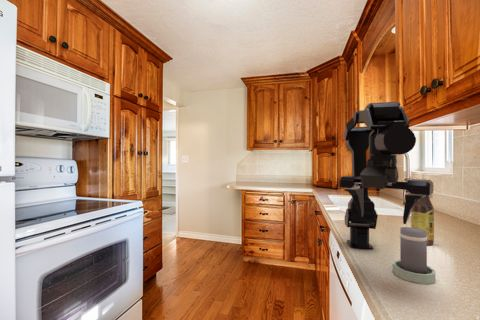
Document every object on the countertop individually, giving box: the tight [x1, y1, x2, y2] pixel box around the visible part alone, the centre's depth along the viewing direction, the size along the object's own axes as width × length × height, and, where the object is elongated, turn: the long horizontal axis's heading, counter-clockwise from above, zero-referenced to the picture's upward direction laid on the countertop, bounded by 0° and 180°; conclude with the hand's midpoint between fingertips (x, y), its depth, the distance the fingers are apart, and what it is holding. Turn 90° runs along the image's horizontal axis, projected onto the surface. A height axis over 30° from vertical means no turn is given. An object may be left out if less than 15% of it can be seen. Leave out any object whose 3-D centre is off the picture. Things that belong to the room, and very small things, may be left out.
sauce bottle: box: [410, 195, 435, 246], centre depth 83 cm, size 6×6×20 cm
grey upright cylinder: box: [399, 226, 428, 274], centre depth 58 cm, size 5×5×11 cm
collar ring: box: [392, 259, 436, 285], centre depth 58 cm, size 8×8×2 cm
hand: (381, 220), depth 58 cm, fingers open, 9 cm apart
